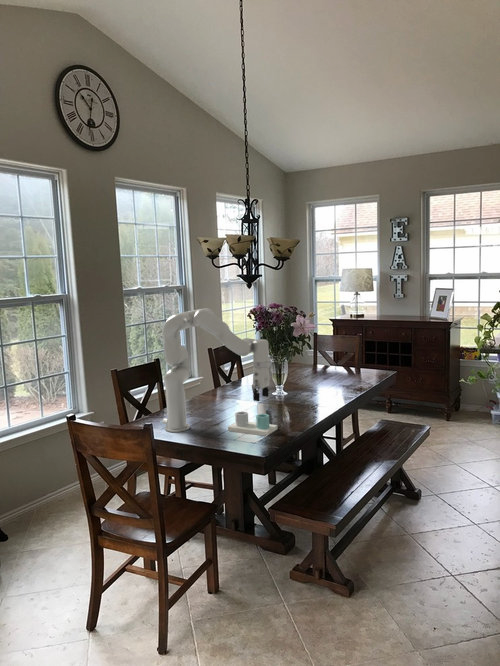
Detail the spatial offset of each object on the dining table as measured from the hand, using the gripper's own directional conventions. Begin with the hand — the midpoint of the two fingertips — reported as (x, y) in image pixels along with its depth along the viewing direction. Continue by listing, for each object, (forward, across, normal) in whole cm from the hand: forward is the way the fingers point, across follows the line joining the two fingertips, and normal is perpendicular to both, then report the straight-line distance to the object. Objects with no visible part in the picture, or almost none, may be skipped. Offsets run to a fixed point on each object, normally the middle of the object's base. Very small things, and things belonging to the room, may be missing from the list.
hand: (261, 398), depth 269 cm
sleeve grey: (+15, 0, +11) cm, 19 cm away
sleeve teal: (+15, 0, -1) cm, 15 cm away
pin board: (+17, 0, +5) cm, 18 cm away
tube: (+17, +24, +12) cm, 32 cm away
